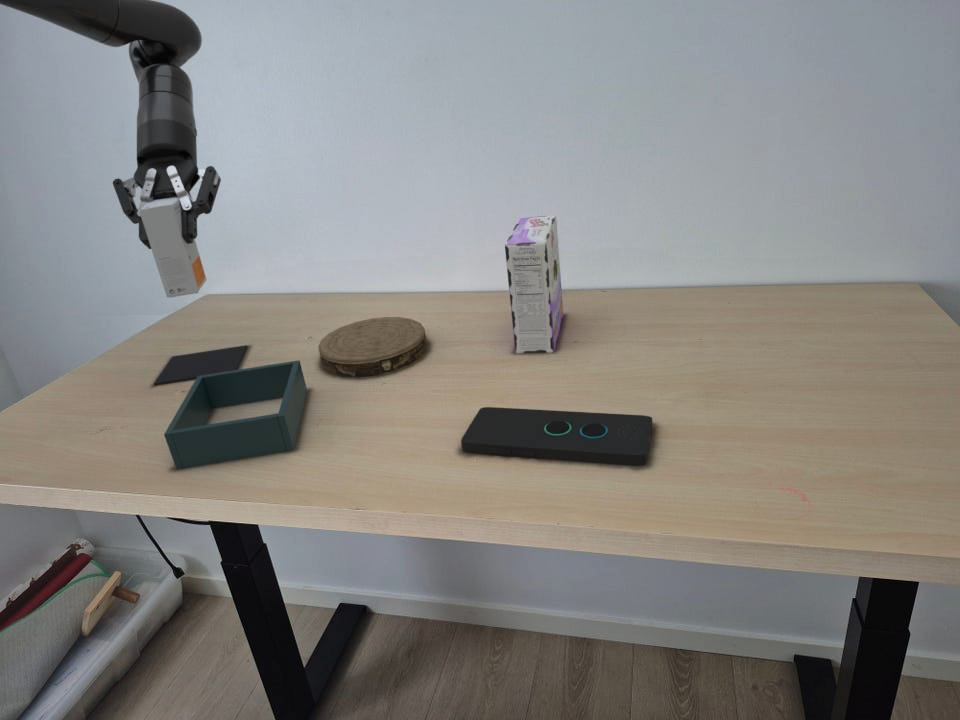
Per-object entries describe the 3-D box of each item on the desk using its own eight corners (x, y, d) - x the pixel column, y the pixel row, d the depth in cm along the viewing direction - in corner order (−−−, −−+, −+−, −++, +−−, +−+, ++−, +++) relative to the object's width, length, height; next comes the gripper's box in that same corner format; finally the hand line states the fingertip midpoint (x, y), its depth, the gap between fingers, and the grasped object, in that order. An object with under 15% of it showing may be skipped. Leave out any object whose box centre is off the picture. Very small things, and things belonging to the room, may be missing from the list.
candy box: (527, 318, 111) (518, 216, 104) (564, 317, 110) (557, 213, 103) (514, 355, 99) (502, 242, 92) (555, 354, 98) (546, 240, 91)
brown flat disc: (310, 353, 108) (306, 336, 107) (404, 326, 114) (401, 309, 113) (340, 390, 95) (335, 371, 94) (444, 357, 101) (441, 338, 100)
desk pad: (154, 387, 104) (153, 383, 104) (173, 359, 113) (172, 356, 113) (236, 374, 104) (234, 370, 104) (248, 348, 114) (247, 345, 113)
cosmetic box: (199, 293, 93) (171, 204, 88) (166, 299, 92) (137, 209, 87) (208, 279, 98) (182, 195, 93) (177, 284, 98) (150, 199, 93)
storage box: (176, 471, 81) (163, 434, 79) (208, 408, 95) (197, 375, 93) (294, 452, 82) (284, 415, 80) (307, 392, 96) (299, 360, 94)
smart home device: (645, 455, 70) (458, 441, 76) (645, 469, 71) (460, 455, 77) (653, 413, 77) (481, 404, 83) (653, 427, 78) (483, 417, 84)
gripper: (100, 124, 92) (97, 236, 87) (209, 110, 93) (213, 220, 87) (127, 159, 99) (126, 265, 94) (228, 145, 100) (233, 249, 94)
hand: (168, 242), depth 91 cm, fingers closed on cosmetic box, 4 cm apart
